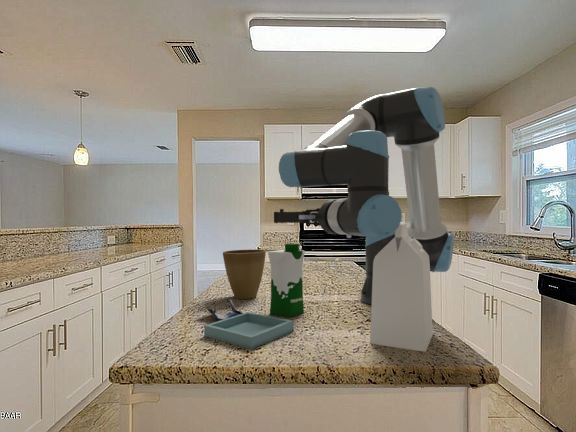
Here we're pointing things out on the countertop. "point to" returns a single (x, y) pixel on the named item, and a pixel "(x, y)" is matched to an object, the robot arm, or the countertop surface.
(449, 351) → the countertop surface
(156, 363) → the countertop surface
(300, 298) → the milk carton
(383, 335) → the milk
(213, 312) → the snack package
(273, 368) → the countertop surface
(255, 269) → the plant pot
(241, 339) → the tray
